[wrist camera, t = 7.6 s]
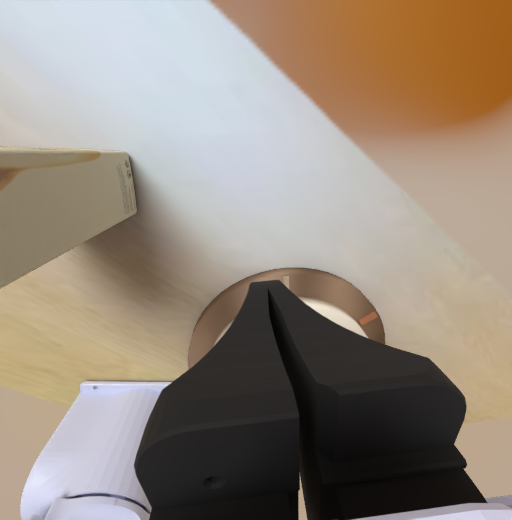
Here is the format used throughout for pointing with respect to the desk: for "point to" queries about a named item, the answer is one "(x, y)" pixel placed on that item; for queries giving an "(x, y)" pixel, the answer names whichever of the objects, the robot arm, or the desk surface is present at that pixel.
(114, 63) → the desk surface
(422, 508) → the robot arm
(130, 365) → the desk surface
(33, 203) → the skincare box
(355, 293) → the dial base
